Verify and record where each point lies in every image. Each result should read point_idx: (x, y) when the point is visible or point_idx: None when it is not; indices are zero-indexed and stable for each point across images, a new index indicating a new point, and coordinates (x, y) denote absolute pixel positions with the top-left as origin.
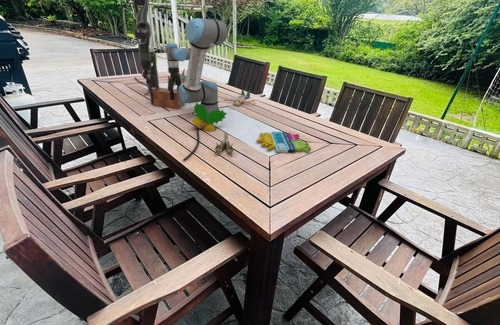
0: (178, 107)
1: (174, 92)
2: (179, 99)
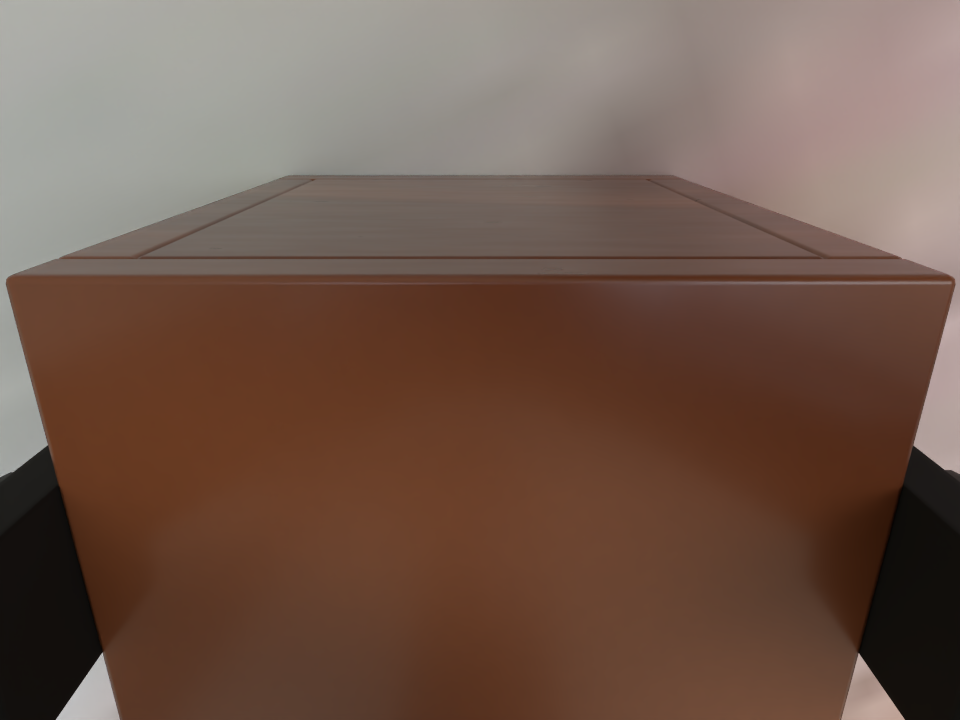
0: (676, 178)
1: (737, 517)
2: (609, 210)
